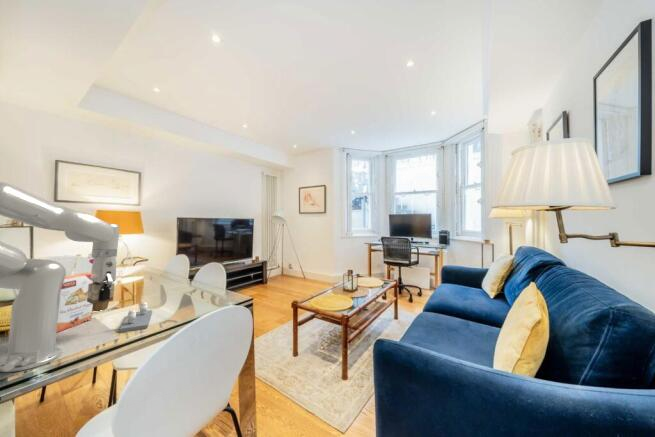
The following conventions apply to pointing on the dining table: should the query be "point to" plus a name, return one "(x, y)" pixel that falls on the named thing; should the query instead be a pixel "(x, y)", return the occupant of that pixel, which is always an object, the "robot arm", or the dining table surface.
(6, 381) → the dining table surface
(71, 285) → the cracker box
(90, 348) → the dining table surface
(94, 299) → the sleeve
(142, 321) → the pin board
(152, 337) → the dining table surface
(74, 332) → the dining table surface
